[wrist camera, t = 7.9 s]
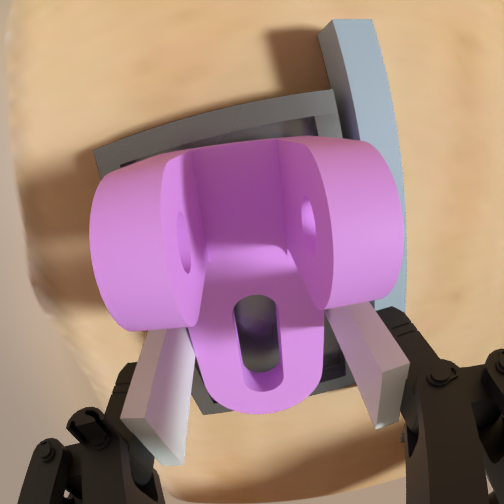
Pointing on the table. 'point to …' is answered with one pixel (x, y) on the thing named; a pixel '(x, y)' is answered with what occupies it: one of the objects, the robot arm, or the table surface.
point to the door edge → (366, 109)
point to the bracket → (248, 251)
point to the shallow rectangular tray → (228, 131)
